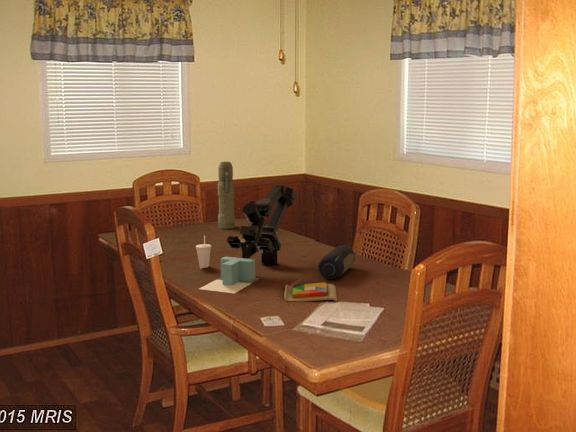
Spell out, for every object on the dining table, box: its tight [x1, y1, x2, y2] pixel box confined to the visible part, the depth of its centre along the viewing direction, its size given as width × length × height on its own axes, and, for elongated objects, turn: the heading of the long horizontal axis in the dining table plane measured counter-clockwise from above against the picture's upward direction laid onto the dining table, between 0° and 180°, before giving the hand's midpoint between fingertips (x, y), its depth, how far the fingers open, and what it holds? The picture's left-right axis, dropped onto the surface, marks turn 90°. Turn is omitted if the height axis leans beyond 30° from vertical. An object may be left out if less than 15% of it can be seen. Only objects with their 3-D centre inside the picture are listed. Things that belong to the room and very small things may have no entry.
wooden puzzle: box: [283, 282, 338, 303], centre depth 263 cm, size 18×19×4 cm
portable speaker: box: [318, 244, 356, 280], centre depth 291 cm, size 25×10×10 cm, turn 160°
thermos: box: [217, 161, 236, 230], centre depth 381 cm, size 9×12×35 cm
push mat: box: [198, 276, 261, 294], centre depth 275 cm, size 22×15×1 cm
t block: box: [219, 256, 256, 286], centre depth 277 cm, size 11×13×8 cm
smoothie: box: [195, 235, 212, 270], centre depth 300 cm, size 6×6×14 cm
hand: (243, 261), depth 285 cm, fingers closed
